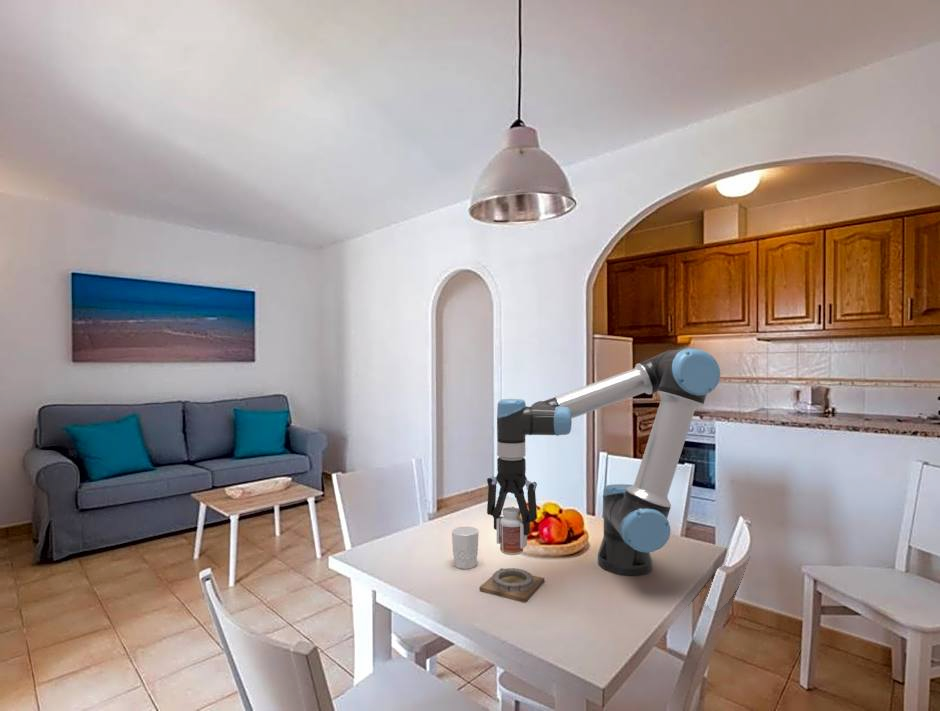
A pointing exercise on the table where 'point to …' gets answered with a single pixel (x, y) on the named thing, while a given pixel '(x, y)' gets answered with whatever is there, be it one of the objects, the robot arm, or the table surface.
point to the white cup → (465, 546)
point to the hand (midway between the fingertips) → (511, 544)
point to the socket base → (513, 594)
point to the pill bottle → (510, 531)
